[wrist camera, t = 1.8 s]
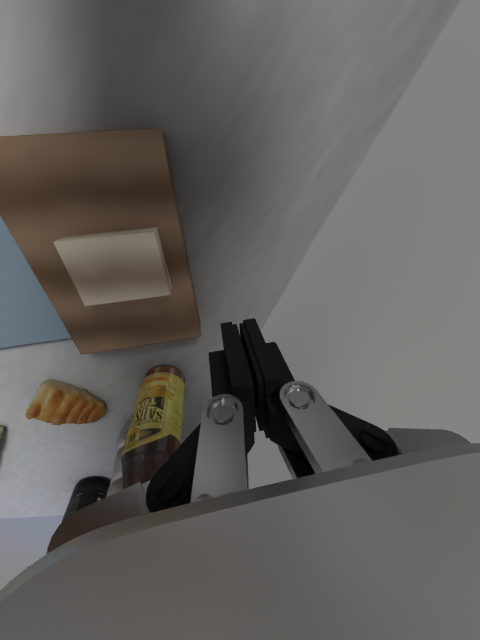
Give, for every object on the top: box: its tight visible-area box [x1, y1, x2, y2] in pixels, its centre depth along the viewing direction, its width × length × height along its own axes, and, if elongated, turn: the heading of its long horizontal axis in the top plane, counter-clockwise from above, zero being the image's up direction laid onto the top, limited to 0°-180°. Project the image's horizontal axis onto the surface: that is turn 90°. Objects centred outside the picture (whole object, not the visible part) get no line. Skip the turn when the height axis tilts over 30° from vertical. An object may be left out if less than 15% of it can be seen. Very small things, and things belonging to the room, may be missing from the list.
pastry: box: [26, 380, 106, 425], centre depth 33 cm, size 9×7×4 cm
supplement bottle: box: [61, 476, 111, 523], centre depth 42 cm, size 7×7×12 cm
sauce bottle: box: [121, 366, 185, 489], centre depth 27 cm, size 7×6×20 cm
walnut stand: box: [0, 128, 201, 355], centre depth 24 cm, size 20×14×3 cm
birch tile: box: [53, 227, 172, 306], centre depth 22 cm, size 6×8×2 cm
